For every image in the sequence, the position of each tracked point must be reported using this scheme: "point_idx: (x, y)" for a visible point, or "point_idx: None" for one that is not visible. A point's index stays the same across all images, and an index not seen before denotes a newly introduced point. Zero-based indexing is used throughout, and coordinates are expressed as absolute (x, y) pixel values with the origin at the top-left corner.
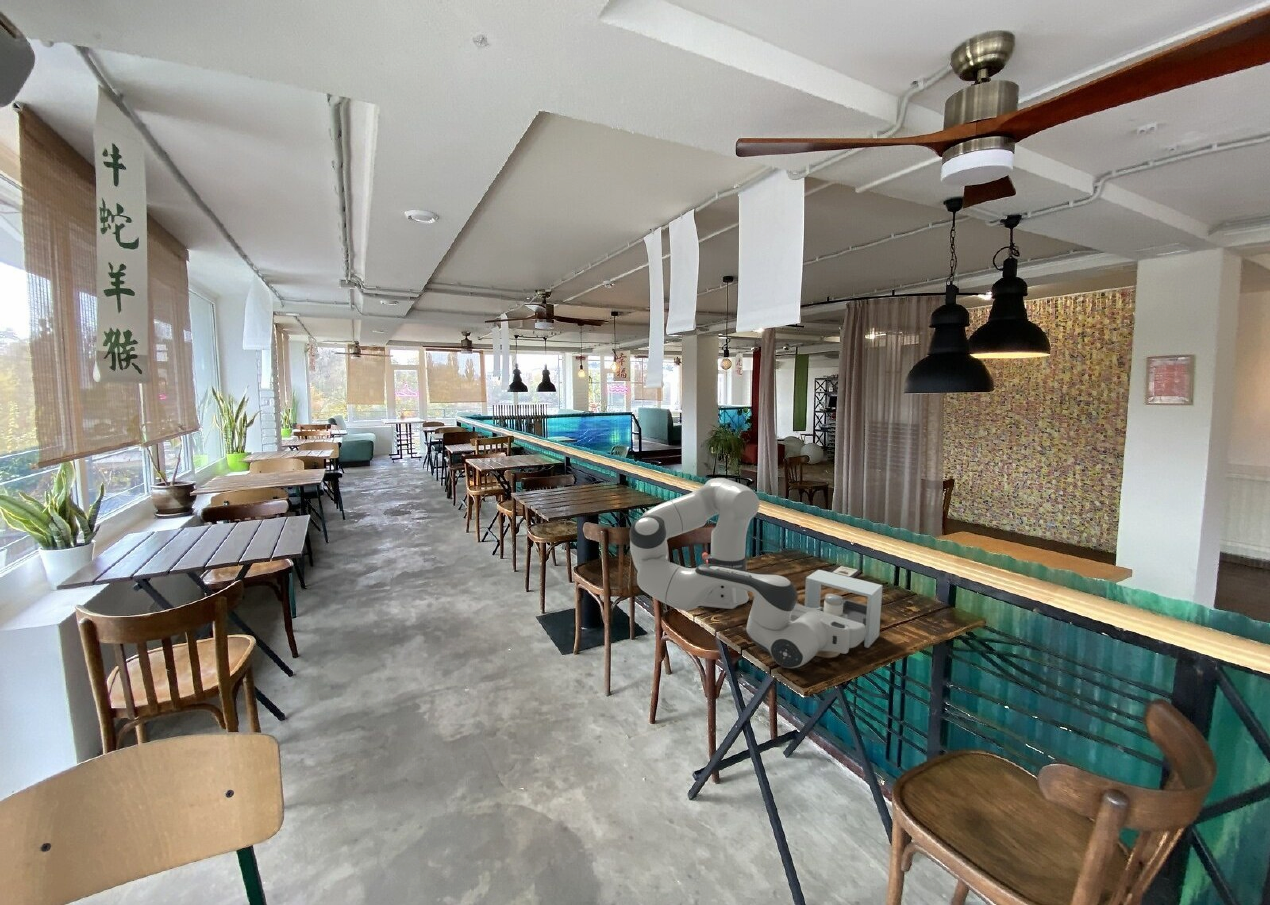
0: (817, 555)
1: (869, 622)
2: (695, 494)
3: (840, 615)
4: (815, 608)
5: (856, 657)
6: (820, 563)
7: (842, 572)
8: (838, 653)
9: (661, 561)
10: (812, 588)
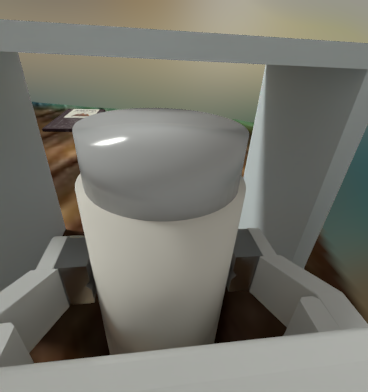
0: (34, 104)
1: (324, 217)
2: None
3: (231, 259)
4: (5, 296)
5: None
6: (40, 111)
7: (79, 115)
8: None
9: None
10: None
